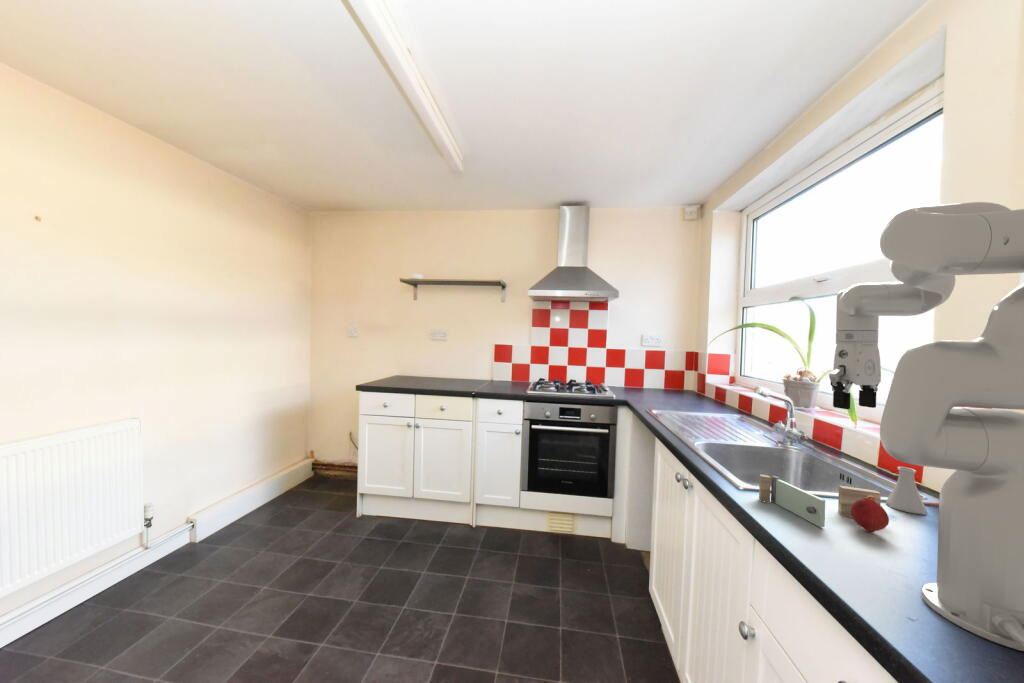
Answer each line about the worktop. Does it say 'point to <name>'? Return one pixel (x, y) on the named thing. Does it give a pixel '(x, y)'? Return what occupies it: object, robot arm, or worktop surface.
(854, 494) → the door frame
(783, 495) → the door
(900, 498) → the flask
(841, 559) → the worktop surface
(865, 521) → the onion
